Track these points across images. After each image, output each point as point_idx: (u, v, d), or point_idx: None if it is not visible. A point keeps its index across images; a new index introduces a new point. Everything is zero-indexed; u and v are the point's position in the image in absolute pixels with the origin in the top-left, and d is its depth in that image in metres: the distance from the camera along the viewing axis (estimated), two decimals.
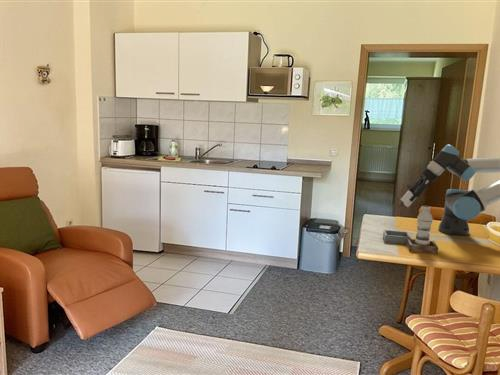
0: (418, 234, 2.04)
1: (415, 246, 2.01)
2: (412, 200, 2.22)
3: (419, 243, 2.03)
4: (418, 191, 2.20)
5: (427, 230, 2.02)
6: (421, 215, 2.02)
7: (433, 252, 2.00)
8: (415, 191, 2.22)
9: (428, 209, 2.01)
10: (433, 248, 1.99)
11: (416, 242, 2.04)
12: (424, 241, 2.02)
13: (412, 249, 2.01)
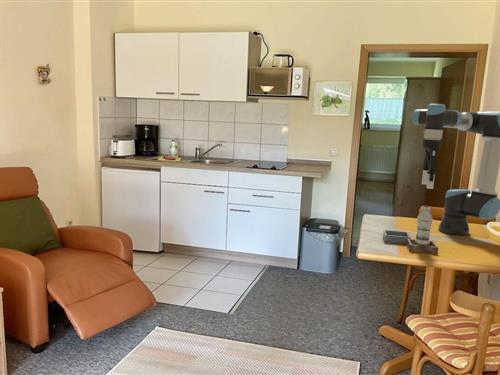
0: (418, 234, 2.04)
1: (415, 246, 2.01)
2: (432, 179, 1.93)
3: (419, 243, 2.03)
4: (432, 167, 1.91)
5: (427, 230, 2.02)
6: (421, 215, 2.02)
7: (433, 252, 2.00)
8: (429, 169, 1.94)
9: (428, 209, 2.01)
10: (433, 248, 1.99)
11: (416, 242, 2.04)
12: (424, 241, 2.02)
13: (412, 249, 2.01)
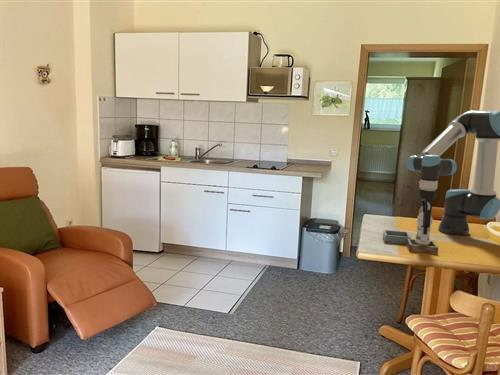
0: (418, 234, 2.04)
1: (415, 246, 2.01)
2: (426, 233, 2.00)
3: (419, 243, 2.03)
4: (426, 222, 1.97)
5: None
6: (421, 215, 2.02)
7: (433, 252, 2.00)
8: (423, 223, 2.00)
9: None
10: (433, 248, 1.99)
11: (416, 242, 2.04)
12: (424, 241, 2.02)
13: (412, 249, 2.01)
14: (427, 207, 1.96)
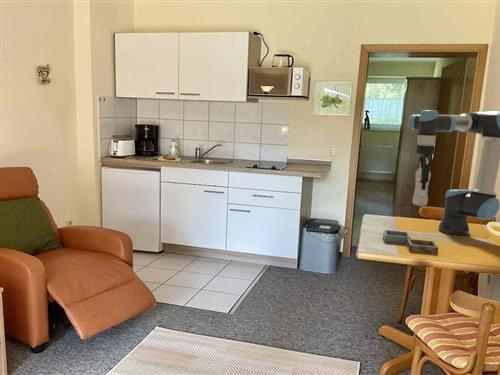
0: (416, 190, 2.04)
1: (415, 246, 2.01)
2: (424, 188, 2.00)
3: (417, 199, 2.03)
4: (424, 177, 1.97)
5: None
6: (419, 171, 2.02)
7: (433, 252, 2.00)
8: (421, 178, 2.00)
9: None
10: (433, 248, 1.99)
11: (414, 198, 2.04)
12: None
13: (412, 249, 2.01)
14: (425, 161, 1.96)
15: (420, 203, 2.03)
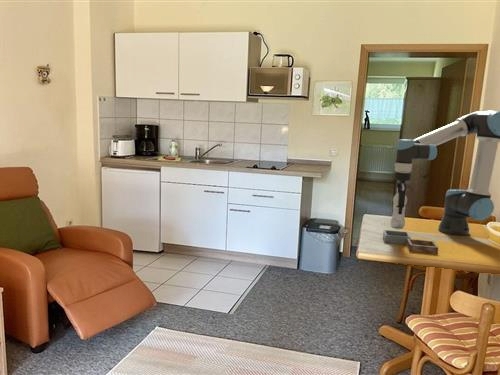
0: (394, 214, 2.16)
1: (415, 246, 2.01)
2: (401, 212, 2.12)
3: (395, 223, 2.15)
4: (400, 202, 2.10)
5: None
6: (396, 196, 2.14)
7: (433, 252, 2.00)
8: (398, 203, 2.12)
9: None
10: (433, 248, 1.99)
11: (392, 222, 2.17)
12: None
13: (412, 249, 2.01)
14: (401, 188, 2.08)
15: (397, 226, 2.15)
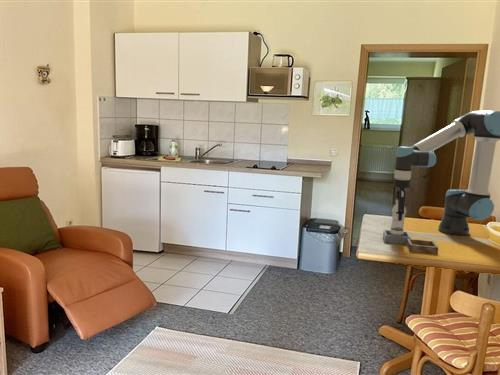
0: (393, 225, 2.17)
1: (415, 246, 2.01)
2: (401, 219, 2.11)
3: (394, 233, 2.16)
4: (400, 208, 2.09)
5: None
6: (395, 207, 2.15)
7: (433, 252, 2.00)
8: (398, 209, 2.11)
9: None
10: (433, 248, 1.99)
11: (391, 232, 2.17)
12: (398, 231, 2.15)
13: (412, 249, 2.01)
14: (401, 194, 2.09)
15: None
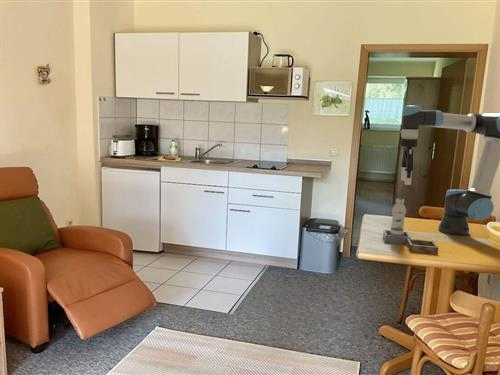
0: (393, 225, 2.17)
1: (415, 246, 2.01)
2: (410, 176, 2.07)
3: (394, 233, 2.16)
4: (409, 165, 2.05)
5: (401, 221, 2.15)
6: (395, 207, 2.15)
7: (433, 252, 2.00)
8: (406, 166, 2.08)
9: (402, 201, 2.14)
10: (433, 248, 1.99)
11: (391, 232, 2.17)
12: (398, 231, 2.15)
13: (412, 249, 2.01)
14: (409, 151, 2.07)
15: None
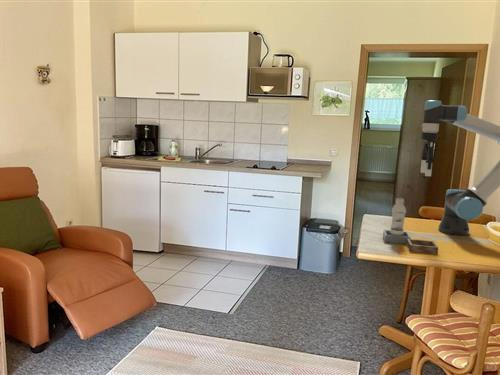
0: (393, 225, 2.17)
1: (415, 246, 2.01)
2: (430, 168, 2.17)
3: (393, 233, 2.16)
4: (429, 157, 2.15)
5: (401, 221, 2.15)
6: (395, 207, 2.15)
7: (433, 252, 2.00)
8: (427, 158, 2.17)
9: (402, 201, 2.14)
10: (433, 248, 1.99)
11: (391, 232, 2.17)
12: (398, 231, 2.15)
13: (412, 249, 2.01)
14: (430, 144, 2.17)
15: None
